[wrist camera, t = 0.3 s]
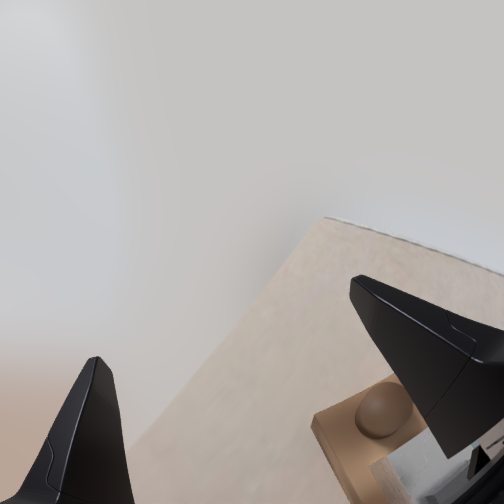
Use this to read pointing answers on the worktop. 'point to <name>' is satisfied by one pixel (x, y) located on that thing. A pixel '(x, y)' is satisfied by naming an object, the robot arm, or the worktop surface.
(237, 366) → the worktop surface
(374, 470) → the lever cap
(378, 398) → the plane body
